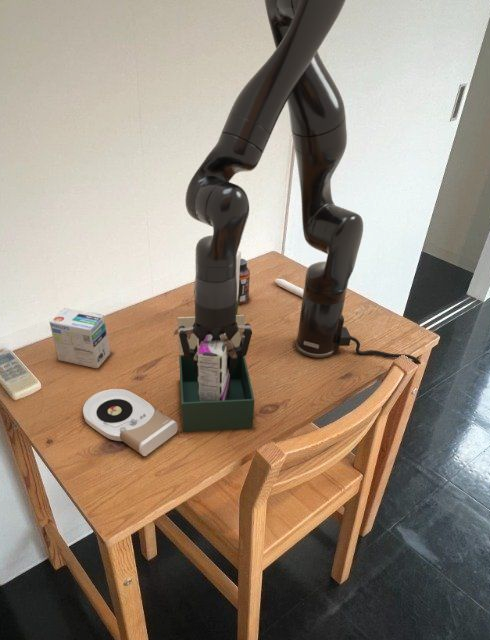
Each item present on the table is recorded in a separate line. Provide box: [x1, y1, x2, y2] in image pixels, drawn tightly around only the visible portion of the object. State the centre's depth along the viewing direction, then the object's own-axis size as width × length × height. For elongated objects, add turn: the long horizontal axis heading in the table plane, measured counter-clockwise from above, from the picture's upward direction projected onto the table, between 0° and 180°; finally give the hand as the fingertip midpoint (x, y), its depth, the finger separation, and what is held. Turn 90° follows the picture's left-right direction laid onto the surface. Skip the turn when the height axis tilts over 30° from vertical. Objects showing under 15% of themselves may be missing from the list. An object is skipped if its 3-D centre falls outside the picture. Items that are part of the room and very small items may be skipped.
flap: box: [177, 314, 246, 354], centre depth 107 cm, size 14×8×1 cm
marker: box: [274, 278, 304, 299], centre depth 142 cm, size 18×2×2 cm, turn 40°
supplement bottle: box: [238, 258, 251, 305], centre depth 137 cm, size 6×6×11 cm
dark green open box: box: [178, 354, 255, 433], centre depth 106 cm, size 14×16×7 cm
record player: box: [82, 388, 179, 457], centre depth 103 cm, size 12×3×20 cm
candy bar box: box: [197, 340, 230, 402], centre depth 102 cm, size 11×5×16 cm, turn 168°
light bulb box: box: [48, 307, 111, 369], centre depth 117 cm, size 11×7×11 cm, turn 71°
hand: (214, 371), depth 102 cm, fingers closed on candy bar box, 5 cm apart
